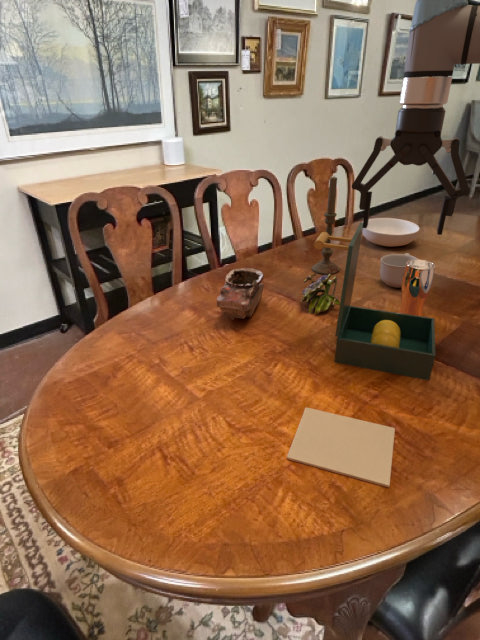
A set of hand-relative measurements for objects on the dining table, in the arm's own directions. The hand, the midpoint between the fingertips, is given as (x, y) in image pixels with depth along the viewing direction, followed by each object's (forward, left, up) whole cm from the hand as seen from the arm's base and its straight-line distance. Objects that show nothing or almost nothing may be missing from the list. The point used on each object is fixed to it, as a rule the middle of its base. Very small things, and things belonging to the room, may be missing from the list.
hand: (401, 229), depth 81 cm
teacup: (-2, -42, -29) cm, 51 cm away
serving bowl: (+4, -79, -29) cm, 84 cm away
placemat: (+3, +31, -29) cm, 42 cm away
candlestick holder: (+21, -45, -29) cm, 57 cm away
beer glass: (-6, -19, -29) cm, 35 cm away
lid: (+8, 0, -12) cm, 14 cm away
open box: (-1, 0, -29) cm, 29 cm away
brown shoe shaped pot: (+35, -8, -29) cm, 46 cm away
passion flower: (+17, -18, -29) cm, 38 cm away
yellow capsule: (-1, 0, -28) cm, 28 cm away
